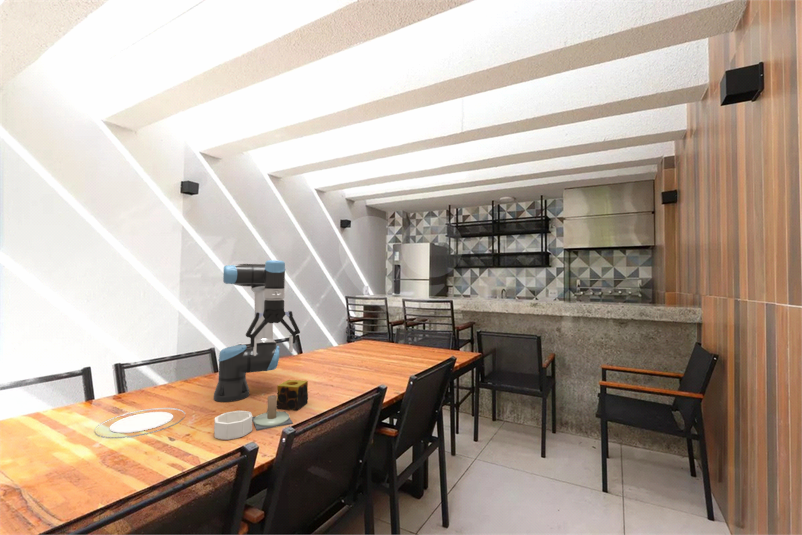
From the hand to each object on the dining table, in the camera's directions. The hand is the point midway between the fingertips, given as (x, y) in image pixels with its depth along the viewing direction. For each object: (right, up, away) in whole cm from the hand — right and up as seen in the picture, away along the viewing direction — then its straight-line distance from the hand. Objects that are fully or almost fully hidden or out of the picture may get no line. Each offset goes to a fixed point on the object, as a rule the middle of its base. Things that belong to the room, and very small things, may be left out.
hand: (273, 353), depth 139 cm
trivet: (0, -26, -1) cm, 26 cm away
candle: (+3, -27, +16) cm, 32 cm away
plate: (-49, -26, -3) cm, 56 cm away
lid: (0, -26, -1) cm, 26 cm away
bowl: (-10, -26, -12) cm, 30 cm away
